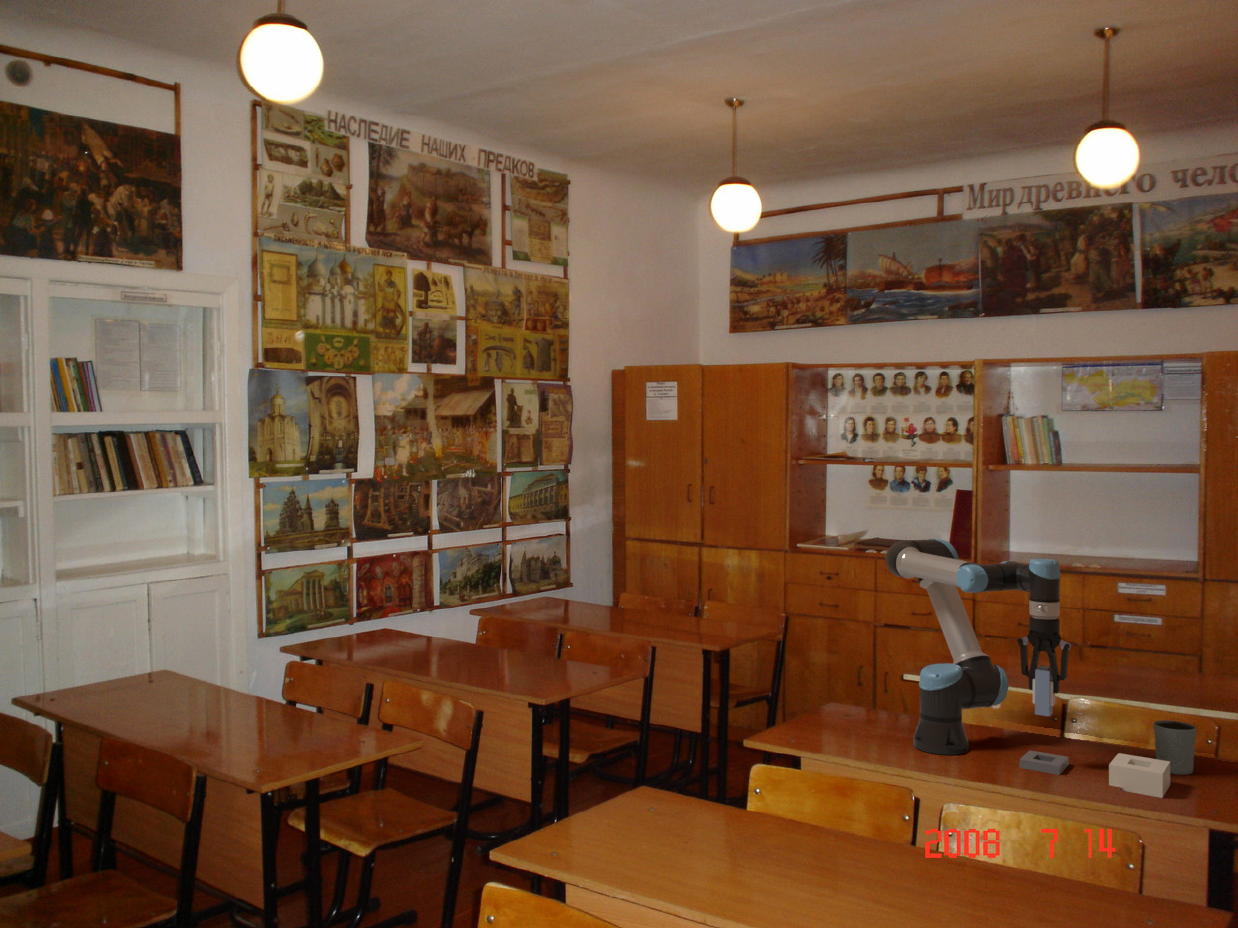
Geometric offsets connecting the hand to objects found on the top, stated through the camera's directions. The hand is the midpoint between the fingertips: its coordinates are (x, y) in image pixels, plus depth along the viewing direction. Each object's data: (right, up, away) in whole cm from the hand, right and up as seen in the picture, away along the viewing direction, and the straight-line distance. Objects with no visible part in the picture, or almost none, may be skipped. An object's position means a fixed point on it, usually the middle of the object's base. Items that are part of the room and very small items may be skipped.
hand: (1043, 703), depth 264 cm
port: (+18, -18, -14) cm, 29 cm away
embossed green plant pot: (+35, -18, 0) cm, 39 cm away
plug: (0, -3, 0) cm, 3 cm away
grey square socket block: (0, -18, 0) cm, 18 cm away
